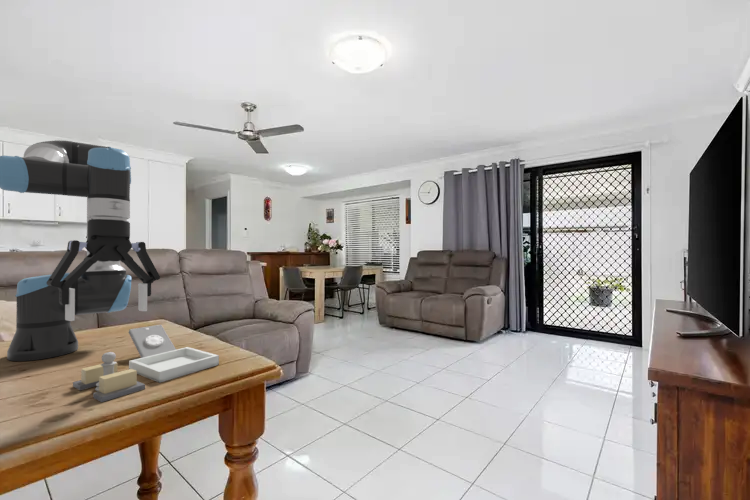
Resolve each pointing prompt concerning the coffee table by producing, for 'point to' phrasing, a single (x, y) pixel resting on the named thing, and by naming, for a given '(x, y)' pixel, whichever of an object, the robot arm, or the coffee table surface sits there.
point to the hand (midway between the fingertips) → (109, 315)
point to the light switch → (151, 340)
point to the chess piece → (107, 365)
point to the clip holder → (109, 382)
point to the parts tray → (173, 363)
